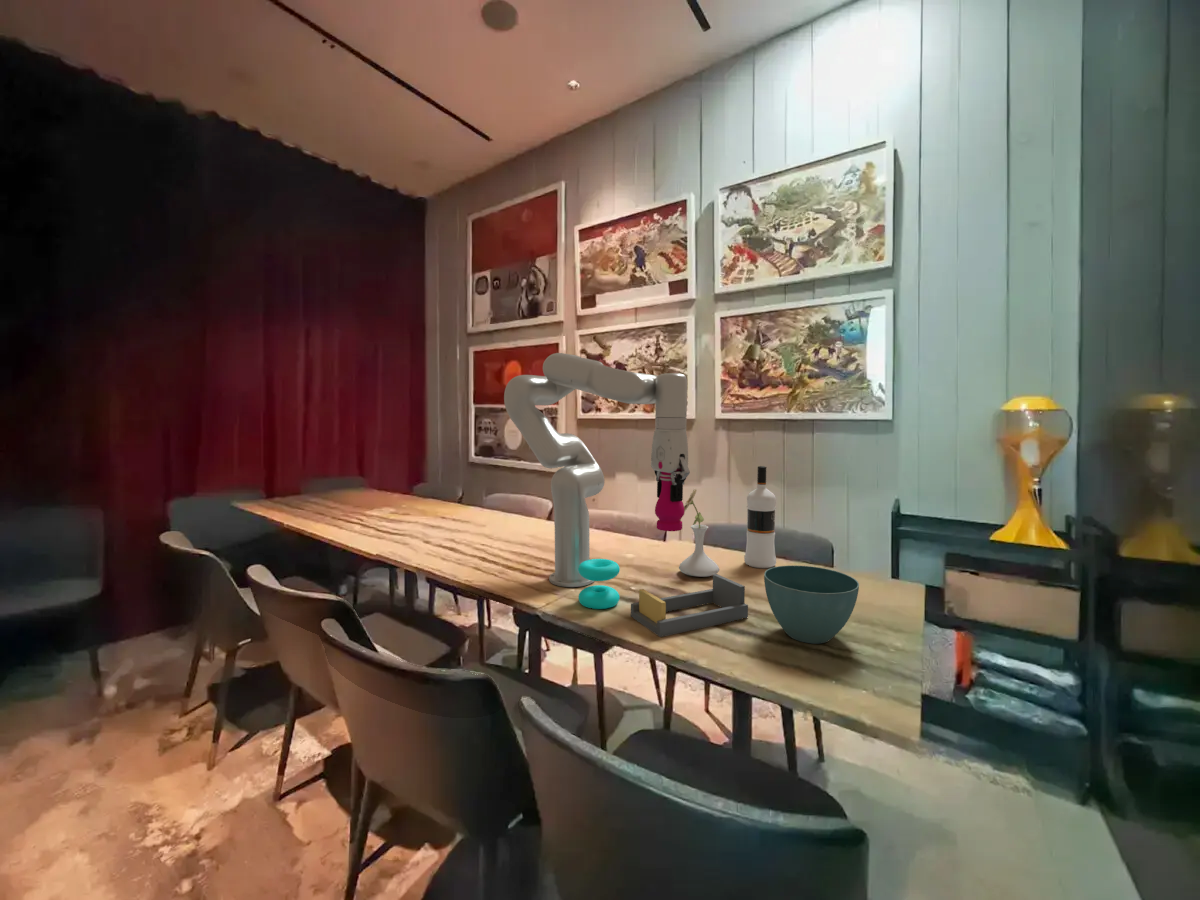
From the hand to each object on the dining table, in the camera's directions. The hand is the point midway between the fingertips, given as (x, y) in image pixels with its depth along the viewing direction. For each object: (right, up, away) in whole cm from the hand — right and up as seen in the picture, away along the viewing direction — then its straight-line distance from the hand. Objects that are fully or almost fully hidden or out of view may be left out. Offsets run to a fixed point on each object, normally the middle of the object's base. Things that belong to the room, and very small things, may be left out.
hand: (669, 498), depth 132 cm
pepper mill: (0, -8, +1) cm, 8 cm away
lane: (+3, -26, -10) cm, 28 cm away
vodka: (+31, -23, +31) cm, 50 cm away
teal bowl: (+26, -27, -20) cm, 43 cm away
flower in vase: (+11, -24, +21) cm, 34 cm away
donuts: (-17, -26, -1) cm, 31 cm away
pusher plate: (-6, -26, -14) cm, 31 cm away
